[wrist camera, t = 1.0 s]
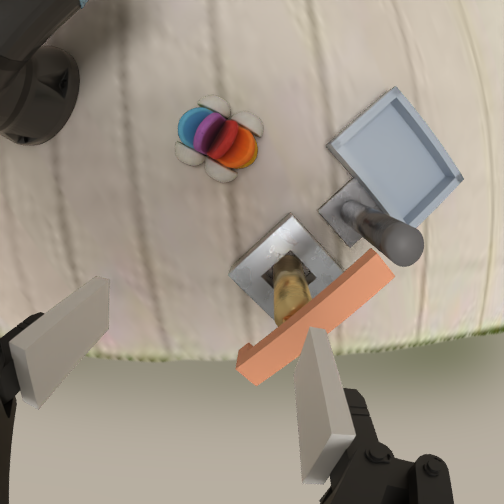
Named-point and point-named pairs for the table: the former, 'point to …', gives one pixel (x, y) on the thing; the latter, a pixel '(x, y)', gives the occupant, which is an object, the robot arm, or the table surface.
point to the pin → (289, 288)
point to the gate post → (356, 215)
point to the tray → (397, 159)
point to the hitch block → (272, 250)
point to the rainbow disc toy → (218, 138)
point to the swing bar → (331, 303)
